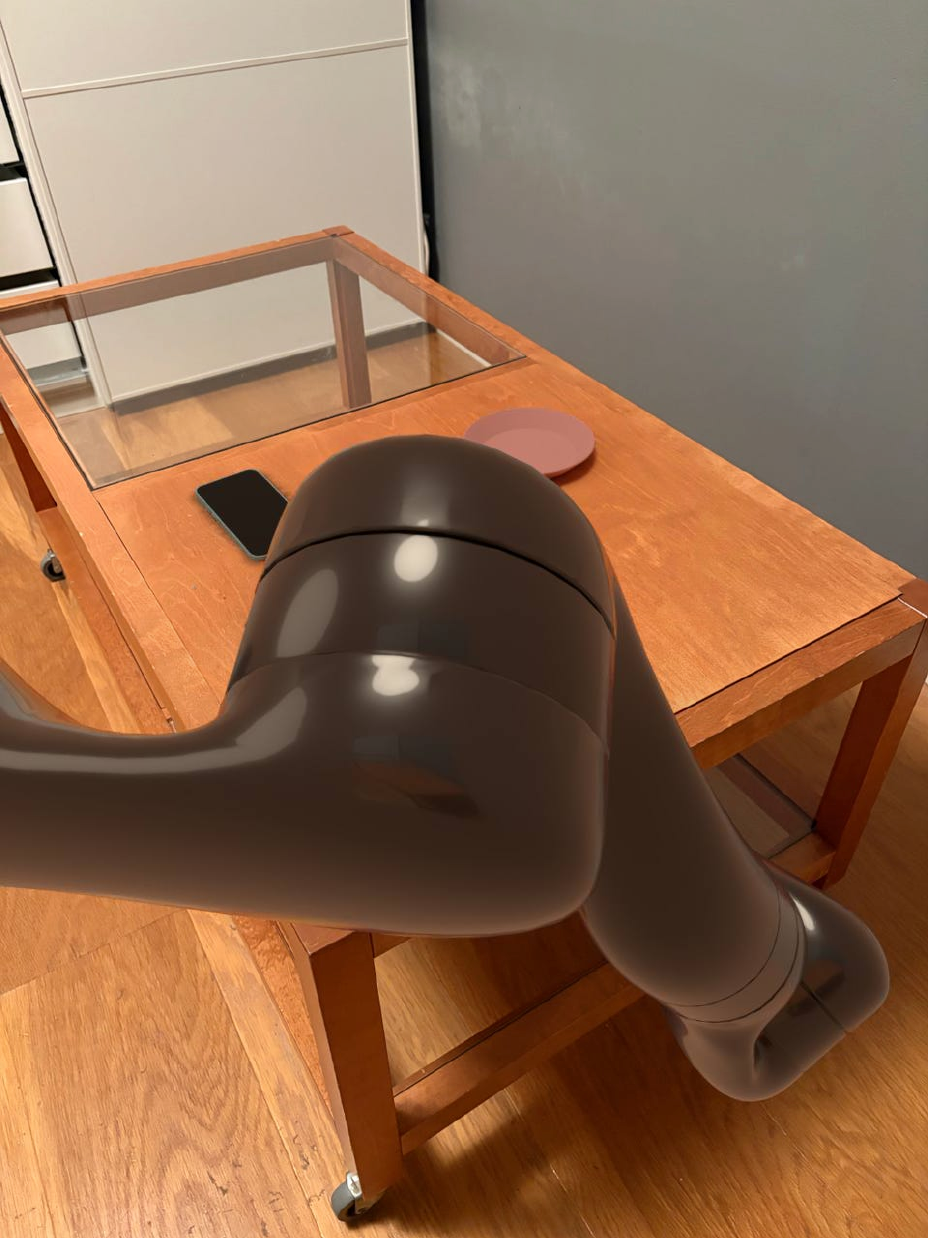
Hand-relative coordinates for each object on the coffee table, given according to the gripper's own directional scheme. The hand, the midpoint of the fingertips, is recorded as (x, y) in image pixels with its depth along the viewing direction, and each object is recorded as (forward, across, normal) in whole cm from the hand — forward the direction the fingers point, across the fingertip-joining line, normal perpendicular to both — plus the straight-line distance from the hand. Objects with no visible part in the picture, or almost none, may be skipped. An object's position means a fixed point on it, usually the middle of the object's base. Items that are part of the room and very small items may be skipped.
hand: (455, 610), depth 68 cm
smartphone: (+34, +5, +11) cm, 36 cm away
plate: (+30, -24, +10) cm, 40 cm away
